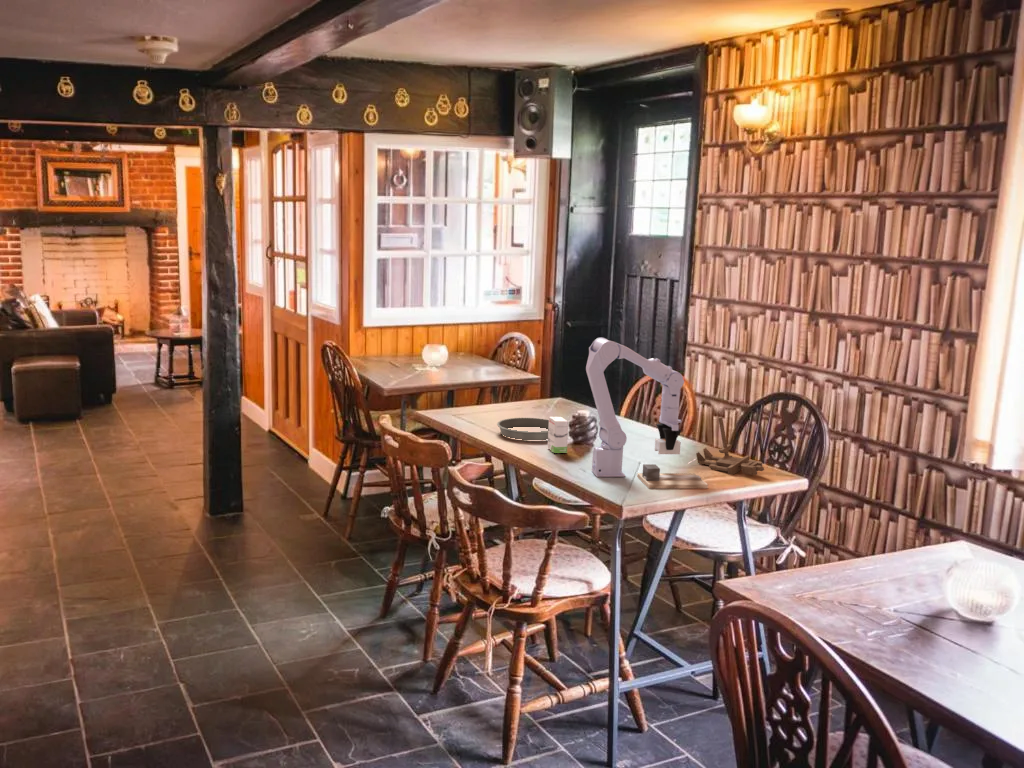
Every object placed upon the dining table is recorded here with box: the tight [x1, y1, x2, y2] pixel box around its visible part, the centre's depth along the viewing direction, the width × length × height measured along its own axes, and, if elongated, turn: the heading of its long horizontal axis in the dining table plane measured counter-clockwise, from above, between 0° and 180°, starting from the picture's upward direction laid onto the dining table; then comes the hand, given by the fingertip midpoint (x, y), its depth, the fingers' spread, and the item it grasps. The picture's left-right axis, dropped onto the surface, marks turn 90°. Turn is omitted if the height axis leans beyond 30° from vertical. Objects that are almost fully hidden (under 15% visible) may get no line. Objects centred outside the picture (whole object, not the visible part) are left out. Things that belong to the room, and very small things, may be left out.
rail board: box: [637, 463, 709, 489], centre depth 299 cm, size 19×13×5 cm
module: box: [654, 438, 681, 455], centre depth 310 cm, size 7×5×4 cm
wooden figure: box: [687, 416, 765, 476], centre depth 316 cm, size 14×18×25 cm
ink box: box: [547, 416, 569, 454], centre depth 334 cm, size 9×5×12 cm, turn 15°
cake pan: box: [496, 417, 549, 440], centre depth 358 cm, size 25×25×4 cm
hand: (667, 447), depth 310 cm, fingers closed on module, 5 cm apart
